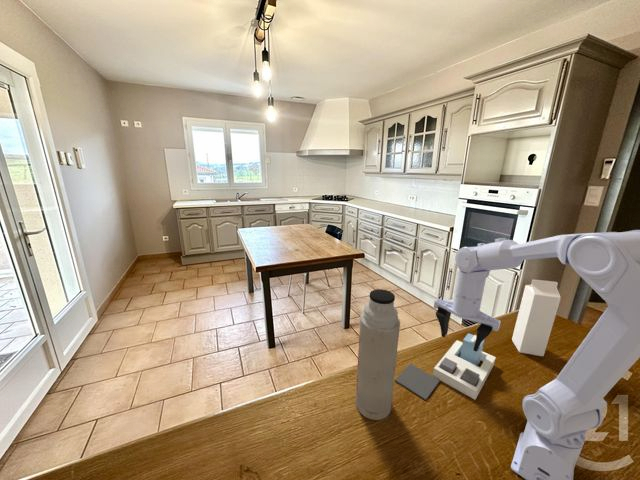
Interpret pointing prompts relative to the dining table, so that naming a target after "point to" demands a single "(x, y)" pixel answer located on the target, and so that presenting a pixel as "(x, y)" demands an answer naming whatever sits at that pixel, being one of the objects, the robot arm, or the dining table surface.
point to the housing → (462, 364)
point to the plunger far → (448, 365)
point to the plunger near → (470, 377)
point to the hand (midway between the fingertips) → (459, 341)
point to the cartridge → (471, 350)
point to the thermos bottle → (377, 355)
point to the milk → (536, 317)
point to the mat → (417, 381)
